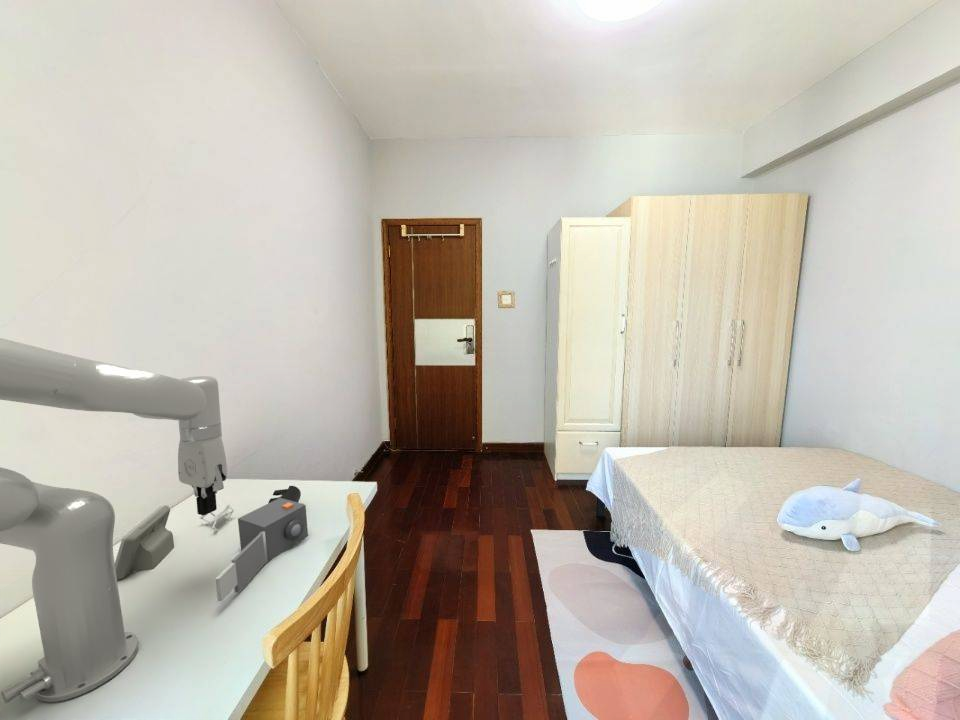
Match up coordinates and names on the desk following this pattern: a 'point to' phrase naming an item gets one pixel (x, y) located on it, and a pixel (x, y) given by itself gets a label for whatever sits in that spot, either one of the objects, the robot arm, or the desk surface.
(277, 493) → the black curved claw shape
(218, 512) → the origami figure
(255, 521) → the camera body
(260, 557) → the side door
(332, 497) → the desk surface
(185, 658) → the desk surface
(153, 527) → the digital clock
